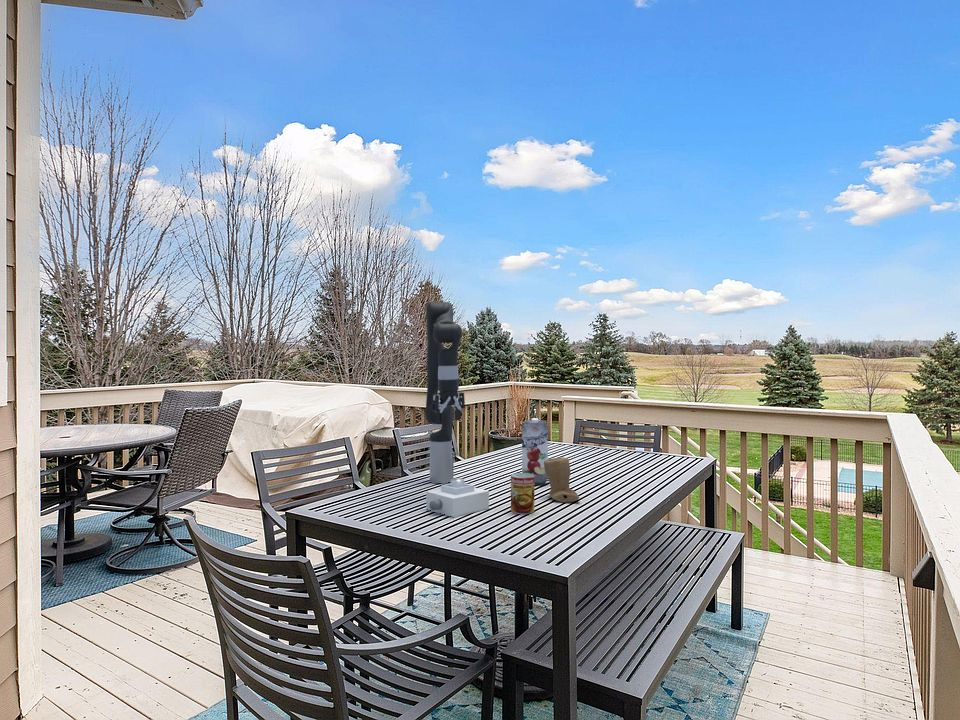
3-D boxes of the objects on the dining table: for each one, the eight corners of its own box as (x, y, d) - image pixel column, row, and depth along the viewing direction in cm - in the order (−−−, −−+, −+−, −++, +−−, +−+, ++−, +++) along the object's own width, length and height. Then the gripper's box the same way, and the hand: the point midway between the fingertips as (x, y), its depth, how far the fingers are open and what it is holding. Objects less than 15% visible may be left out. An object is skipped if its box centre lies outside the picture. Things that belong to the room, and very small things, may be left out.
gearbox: (461, 501, 202) (461, 479, 202) (488, 508, 192) (488, 485, 192) (419, 510, 189) (419, 487, 189) (446, 519, 179) (446, 493, 179)
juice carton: (522, 481, 237) (522, 416, 237) (547, 481, 236) (547, 417, 236) (521, 485, 228) (521, 418, 229) (548, 486, 227) (547, 419, 228)
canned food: (510, 513, 185) (510, 477, 185) (510, 507, 193) (510, 472, 193) (534, 514, 185) (534, 477, 185) (533, 508, 193) (533, 473, 193)
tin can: (458, 506, 195) (458, 477, 195) (466, 508, 191) (466, 479, 191) (448, 508, 192) (448, 479, 192) (457, 511, 188) (456, 481, 188)
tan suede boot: (542, 493, 214) (542, 454, 214) (574, 494, 213) (574, 454, 214) (546, 503, 199) (545, 461, 199) (579, 504, 198) (579, 461, 198)
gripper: (455, 376, 215) (456, 418, 216) (426, 378, 205) (427, 423, 206) (469, 377, 210) (469, 420, 210) (440, 379, 200) (440, 424, 200)
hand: (448, 421), depth 208 cm, fingers open, 8 cm apart
